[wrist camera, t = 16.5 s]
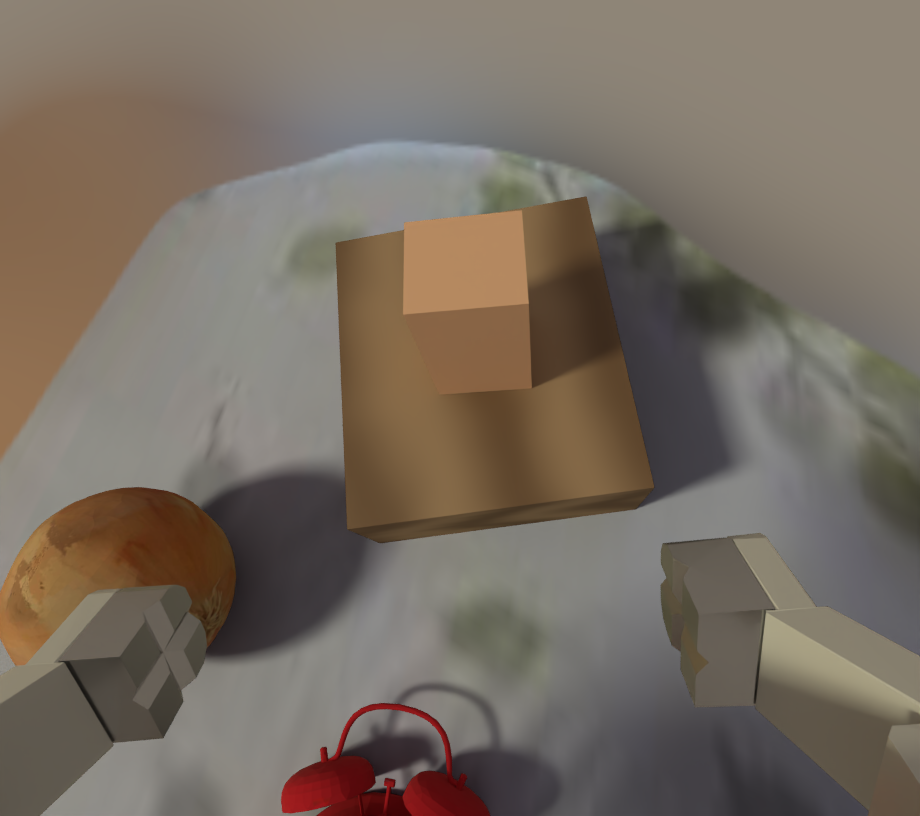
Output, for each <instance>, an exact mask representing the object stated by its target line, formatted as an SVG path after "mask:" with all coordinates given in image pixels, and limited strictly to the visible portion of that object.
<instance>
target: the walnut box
mask: <svg viewBox="0 0 920 816" xmlns="http://www.w3.org/2000/svg"><path fill="white" fill-rule="evenodd" d="M519 210H522V218H523V231H524V245H525V259H526V272H527V286H528V300H529V324H530V352H531V380H532V388H530V389H515V390H501V391H487V392H472V393H458V394H443V395H439V393H438V391H437V388H436V386H435V384H434V382H433V380H432V377H431V375H430V373H429V371H428V369H427V366H426V364H425V362H424V360H423V357H422V355H421V353H420V351H419V349H418V346H417V344H416V342H415V340H414V338H413V335H412V333H411V331H410V329H409V327H408V324H407V322H406V320H405V318H404V316H403V279H404V230H402V231H397V232H391V233H386V234H380V235H375V236H370V237H364V238H359V239H353V240H348V241H343V242H337V243H336V264H337V289H338V314H339V339H340V363H341V388H342V413H343V438H344V462H345V487H346V512H347V529H348V530H350V531H352V532H355V533H357V534H359V535H362V536H364V537H366V538H369V539H371V540H373V541H376V542H378V543H386V542H393V541H401V540H408V539H416V538H423V537H431V536H438V535H446V534H453V533H461V532H468V531H476V530H483V529H491V528H498V527H506V526H514V525H521V524H529V523H536V522H544V521H551V520H559V519H566V518H574V517H581V516H589V515H596V514H604V513H611V512H619V511H626V510H634V509H636V508H637V507H638V506H639V505H640V504H641V503H642V501H643V500H644V499H645V498H646V497H647V496H648V494H649V493H650V492H651V491H652V490H653V489H654V488H655V487H654V483H653V479H652V475H651V470H650V466H649V462H648V457H647V453H646V449H645V445H644V440H643V436H642V432H641V428H640V423H639V419H638V415H637V410H636V406H635V402H634V398H633V393H632V389H631V385H630V381H629V376H628V372H627V368H626V363H625V359H624V355H623V351H622V346H621V342H620V338H619V334H618V329H617V325H616V321H615V316H614V312H613V308H612V304H611V299H610V295H609V291H608V286H607V282H606V278H605V274H604V269H603V265H602V261H601V257H600V252H599V248H598V244H597V239H596V235H595V231H594V227H593V222H592V218H591V214H590V210H589V205H588V201H587V197H581V198H575V199H570V200H564V201H559V202H554V203H548V204H543V205H537V206H532V207H527V208H521V209H516V210H510V211H519ZM510 211H505V212H510ZM499 213H500V212H499Z"/></svg>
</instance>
